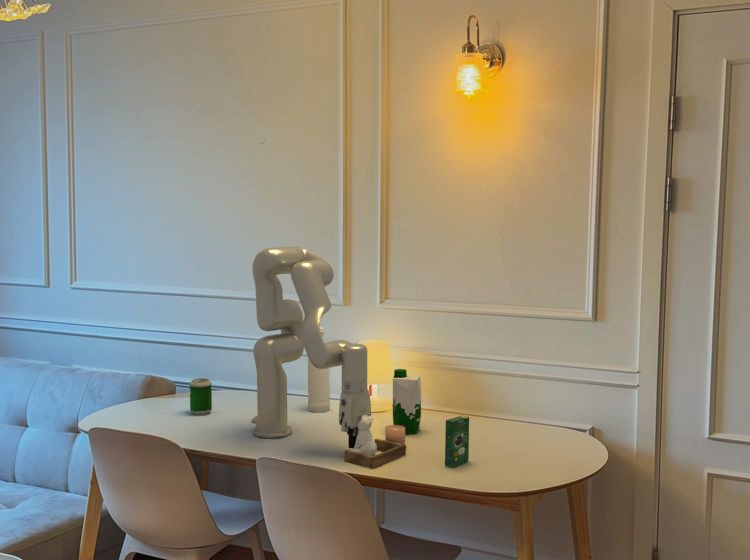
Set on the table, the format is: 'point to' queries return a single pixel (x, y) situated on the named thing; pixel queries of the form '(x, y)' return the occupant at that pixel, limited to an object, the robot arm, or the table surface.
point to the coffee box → (457, 441)
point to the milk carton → (406, 400)
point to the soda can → (200, 396)
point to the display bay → (390, 454)
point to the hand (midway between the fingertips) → (354, 447)
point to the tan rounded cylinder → (395, 434)
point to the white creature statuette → (365, 437)
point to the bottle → (318, 387)
